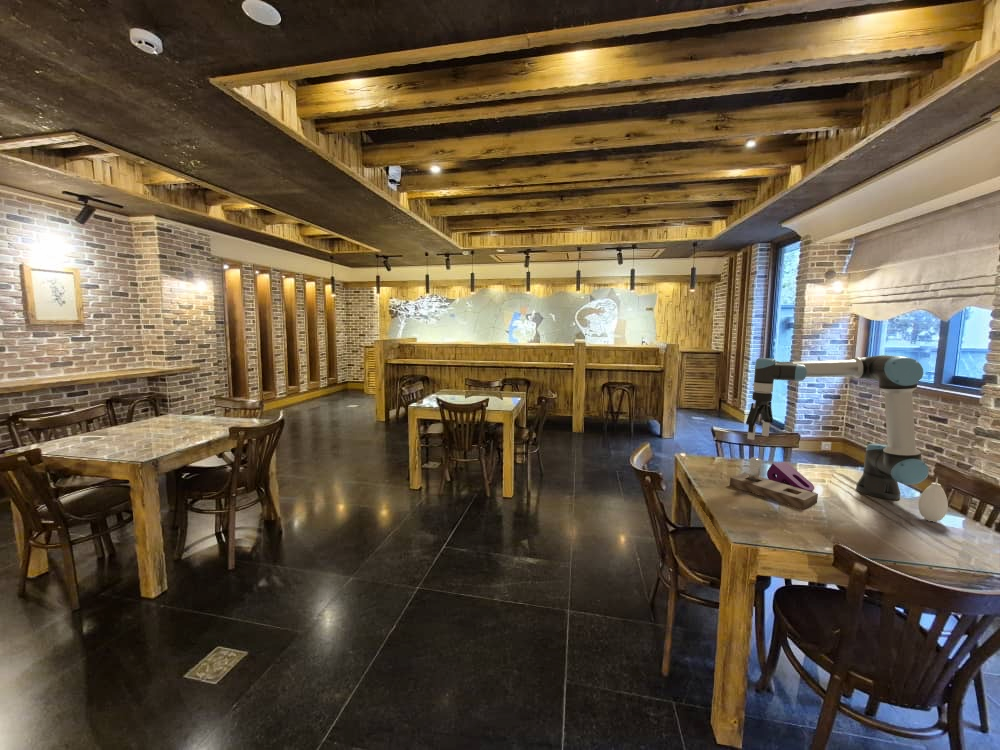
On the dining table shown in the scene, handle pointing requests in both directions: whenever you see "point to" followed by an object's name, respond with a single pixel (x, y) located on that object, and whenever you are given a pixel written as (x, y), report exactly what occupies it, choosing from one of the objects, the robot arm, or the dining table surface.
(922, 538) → the dining table surface
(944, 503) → the white rounded egg-shaped figurine
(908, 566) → the dining table surface
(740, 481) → the mount plate
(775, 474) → the mounting bracket
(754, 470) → the steel pin
